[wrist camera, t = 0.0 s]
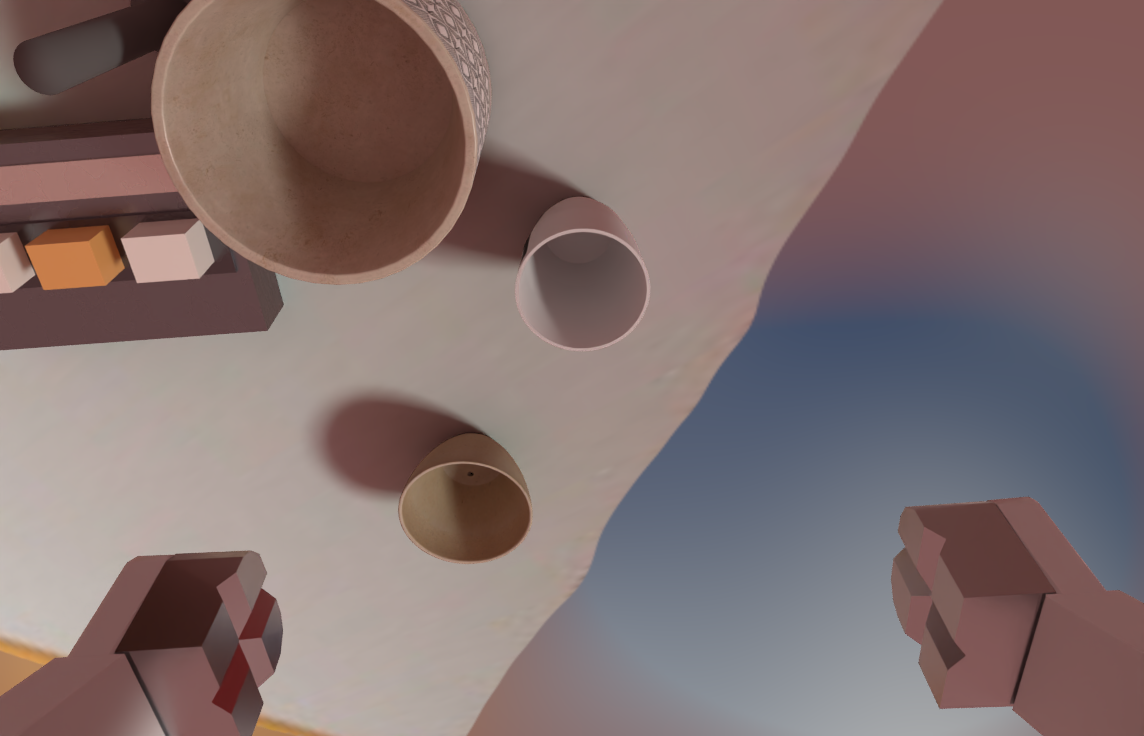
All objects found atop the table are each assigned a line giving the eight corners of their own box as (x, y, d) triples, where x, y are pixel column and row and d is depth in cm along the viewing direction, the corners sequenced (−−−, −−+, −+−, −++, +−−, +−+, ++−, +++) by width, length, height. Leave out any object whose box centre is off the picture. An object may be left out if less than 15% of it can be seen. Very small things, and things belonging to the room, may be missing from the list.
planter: (456, 236, 60) (433, 319, 49) (218, 164, 57) (137, 234, 46) (525, -3, 52) (516, 32, 41) (253, -102, 49) (165, -93, 38)
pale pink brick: (140, 222, 54) (120, 238, 52) (201, 217, 54) (185, 233, 52) (155, 265, 56) (136, 283, 53) (215, 260, 56) (199, 278, 53)
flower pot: (419, 506, 72) (406, 566, 66) (405, 408, 67) (390, 463, 61) (536, 503, 72) (535, 563, 66) (532, 405, 67) (529, 460, 61)
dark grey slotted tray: (-71, 135, 55) (-117, 154, 52) (230, 111, 55) (206, 129, 51) (16, 324, 63) (-18, 353, 59) (283, 304, 62) (266, 332, 58)
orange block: (48, 229, 54) (24, 245, 52) (109, 224, 54) (88, 241, 52) (65, 272, 56) (43, 290, 53) (125, 267, 56) (105, 285, 53)
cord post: (124, -27, 51) (-38, 12, 37) (207, -34, 51) (75, 3, 37) (152, 60, 53) (10, 127, 39) (230, 54, 53) (115, 119, 39)
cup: (513, 181, 58) (506, 236, 49) (632, 168, 57) (645, 221, 49) (529, 289, 62) (524, 357, 53) (640, 277, 61) (654, 344, 53)
